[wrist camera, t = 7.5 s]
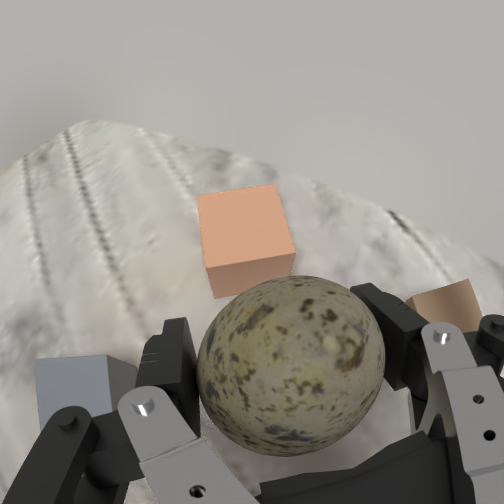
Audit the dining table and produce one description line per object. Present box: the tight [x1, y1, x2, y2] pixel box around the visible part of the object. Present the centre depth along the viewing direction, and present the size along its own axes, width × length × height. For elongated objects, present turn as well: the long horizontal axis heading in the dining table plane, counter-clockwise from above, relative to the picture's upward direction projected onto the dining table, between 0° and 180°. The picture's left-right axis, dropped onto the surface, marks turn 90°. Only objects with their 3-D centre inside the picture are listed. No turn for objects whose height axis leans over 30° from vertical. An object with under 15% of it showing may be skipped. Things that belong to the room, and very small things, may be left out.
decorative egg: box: [196, 276, 385, 457], centre depth 9 cm, size 6×6×10 cm
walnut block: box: [404, 279, 483, 333], centre depth 17 cm, size 5×5×5 cm
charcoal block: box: [35, 355, 138, 432], centre depth 15 cm, size 5×5×5 cm
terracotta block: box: [197, 184, 296, 299], centre depth 20 cm, size 5×5×5 cm
